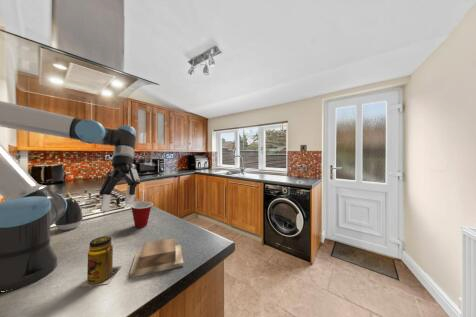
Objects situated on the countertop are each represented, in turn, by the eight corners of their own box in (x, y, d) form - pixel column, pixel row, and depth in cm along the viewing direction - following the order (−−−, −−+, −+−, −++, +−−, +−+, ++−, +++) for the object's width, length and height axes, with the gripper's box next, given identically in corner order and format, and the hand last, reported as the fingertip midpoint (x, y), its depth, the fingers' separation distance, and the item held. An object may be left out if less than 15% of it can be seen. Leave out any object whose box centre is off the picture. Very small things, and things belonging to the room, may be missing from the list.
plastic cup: (136, 231, 85) (137, 207, 85) (125, 226, 91) (126, 204, 91) (156, 224, 94) (157, 203, 94) (145, 220, 100) (146, 200, 100)
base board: (129, 277, 53) (129, 261, 53) (136, 255, 65) (136, 242, 65) (183, 265, 59) (183, 251, 59) (180, 247, 71) (180, 235, 71)
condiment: (79, 287, 48) (80, 246, 48) (97, 268, 57) (98, 233, 57) (108, 284, 50) (108, 243, 50) (121, 266, 58) (122, 231, 58)
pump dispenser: (55, 227, 88) (56, 198, 88) (82, 222, 95) (83, 195, 95) (52, 234, 80) (52, 202, 80) (81, 229, 87) (82, 199, 87)
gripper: (152, 152, 73) (149, 201, 65) (112, 168, 81) (104, 214, 72) (136, 145, 67) (130, 199, 58) (95, 163, 74) (84, 213, 66)
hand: (116, 207), depth 65 cm, fingers open, 13 cm apart
